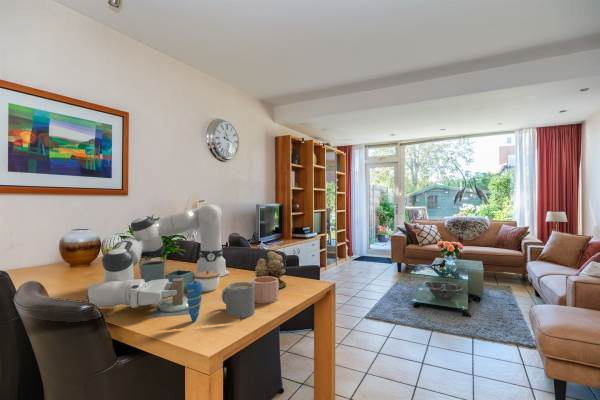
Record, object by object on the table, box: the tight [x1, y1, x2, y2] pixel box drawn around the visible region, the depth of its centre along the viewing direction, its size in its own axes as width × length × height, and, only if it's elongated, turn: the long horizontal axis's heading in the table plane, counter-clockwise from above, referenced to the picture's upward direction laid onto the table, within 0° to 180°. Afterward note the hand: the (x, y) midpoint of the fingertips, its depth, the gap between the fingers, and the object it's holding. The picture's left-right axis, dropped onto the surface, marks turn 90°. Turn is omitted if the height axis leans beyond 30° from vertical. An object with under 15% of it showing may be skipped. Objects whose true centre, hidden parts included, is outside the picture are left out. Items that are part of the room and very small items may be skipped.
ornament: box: [185, 278, 203, 323], centre depth 100 cm, size 5×5×15 cm
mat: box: [149, 297, 203, 319], centre depth 115 cm, size 20×16×1 cm
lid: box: [159, 278, 189, 312], centre depth 115 cm, size 13×13×10 cm
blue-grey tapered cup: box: [139, 260, 165, 282], centre depth 142 cm, size 10×10×12 cm
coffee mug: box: [221, 281, 255, 319], centre depth 110 cm, size 13×10×10 cm
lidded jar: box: [194, 270, 221, 293], centre depth 136 cm, size 11×11×9 cm
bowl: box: [250, 276, 280, 305], centre depth 124 cm, size 11×11×8 cm
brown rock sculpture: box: [254, 251, 287, 291], centre depth 141 cm, size 18×12×17 cm, turn 137°
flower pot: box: [164, 269, 195, 293], centre depth 134 cm, size 9×9×9 cm
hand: (178, 288), depth 114 cm, fingers open, 8 cm apart
